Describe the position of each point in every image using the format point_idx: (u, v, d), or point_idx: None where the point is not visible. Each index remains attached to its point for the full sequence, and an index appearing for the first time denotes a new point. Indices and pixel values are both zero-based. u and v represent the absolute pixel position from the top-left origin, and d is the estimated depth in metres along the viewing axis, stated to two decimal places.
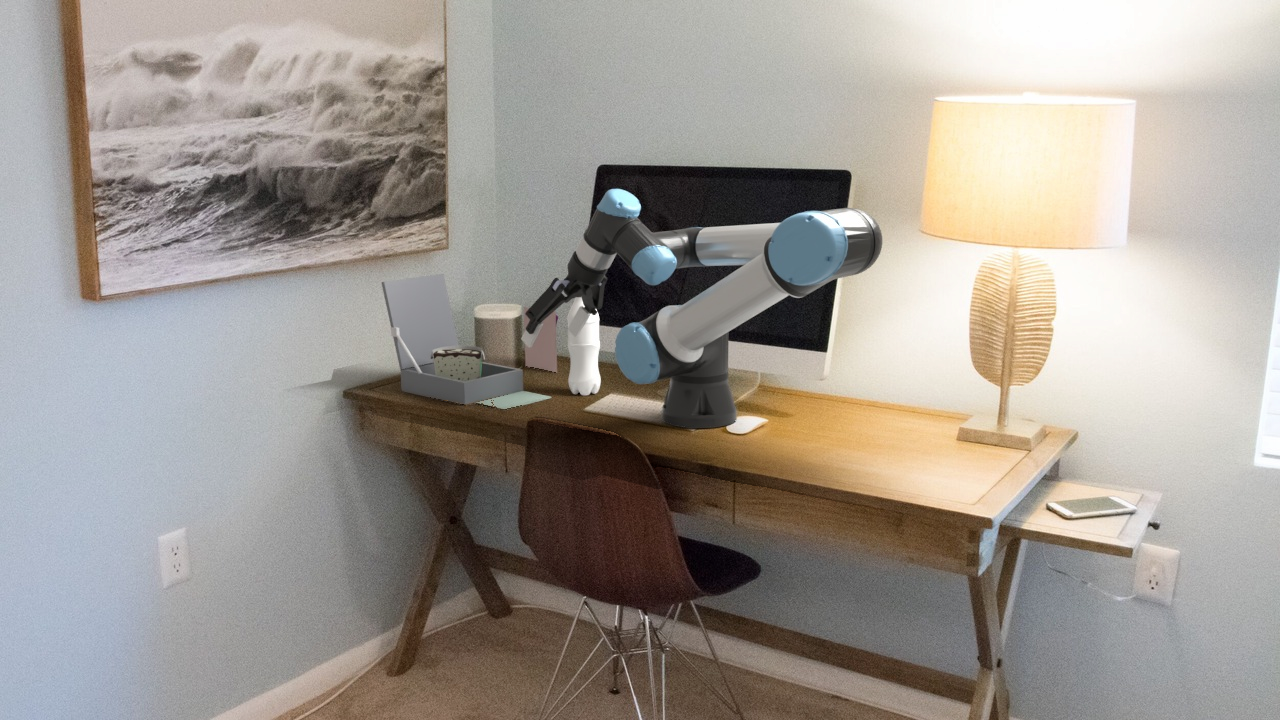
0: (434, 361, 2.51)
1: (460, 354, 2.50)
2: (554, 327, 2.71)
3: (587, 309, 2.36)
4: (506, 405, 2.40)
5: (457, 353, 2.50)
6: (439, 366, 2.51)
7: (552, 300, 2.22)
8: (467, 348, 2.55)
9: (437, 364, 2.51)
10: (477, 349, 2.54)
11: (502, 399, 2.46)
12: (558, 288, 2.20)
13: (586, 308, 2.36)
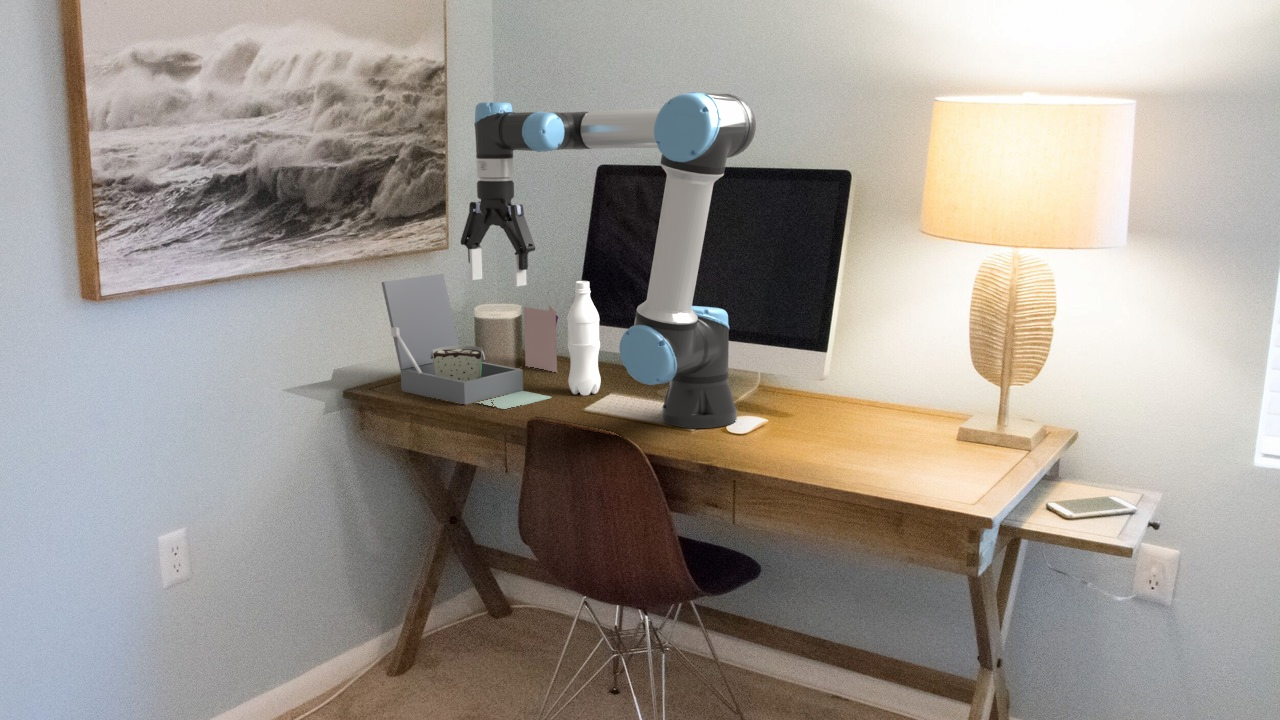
0: (434, 361, 2.51)
1: (460, 354, 2.50)
2: (554, 327, 2.71)
3: (475, 247, 2.39)
4: (506, 405, 2.40)
5: (457, 353, 2.50)
6: (439, 366, 2.51)
7: None
8: (467, 348, 2.55)
9: (437, 364, 2.51)
10: (477, 349, 2.54)
11: (502, 399, 2.46)
12: (522, 209, 2.28)
13: (473, 247, 2.38)
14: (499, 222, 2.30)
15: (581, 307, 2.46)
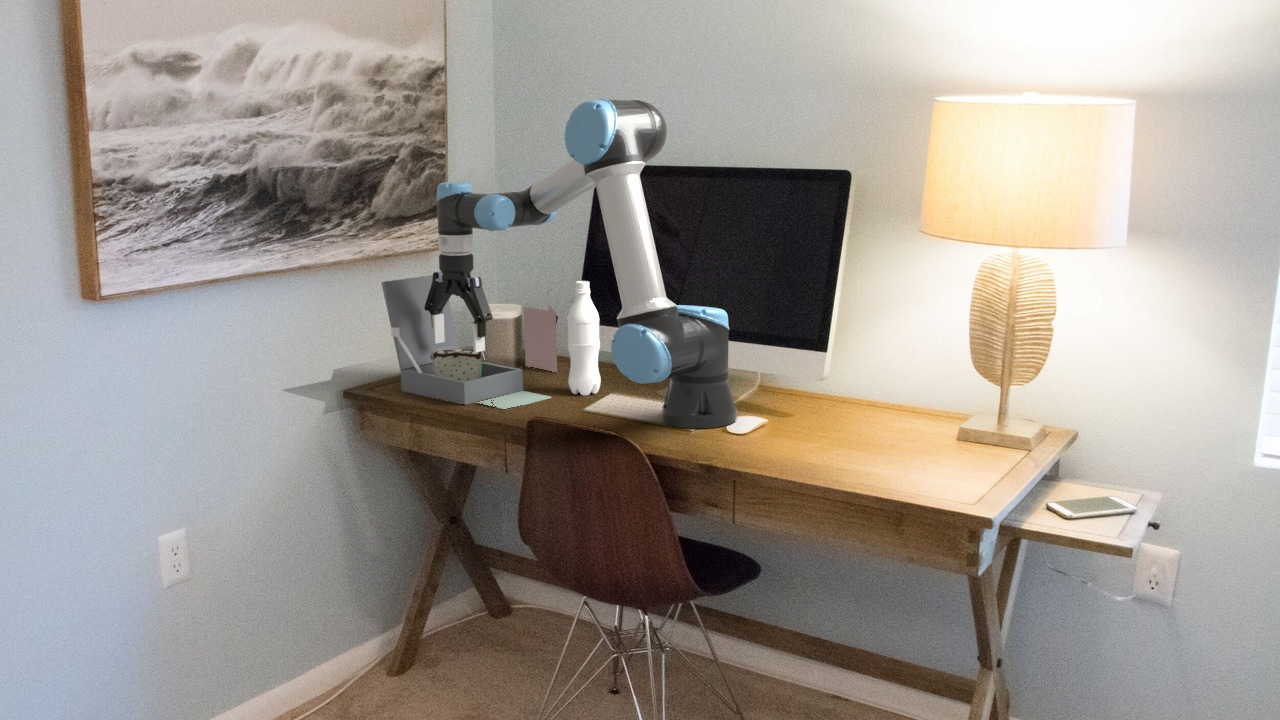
0: (434, 361, 2.51)
1: (460, 354, 2.50)
2: (554, 327, 2.71)
3: (437, 312, 2.57)
4: (506, 405, 2.40)
5: (457, 353, 2.50)
6: (438, 366, 2.51)
7: None
8: (467, 348, 2.55)
9: (437, 364, 2.51)
10: None
11: (502, 399, 2.46)
12: (480, 281, 2.46)
13: (436, 313, 2.56)
14: (459, 293, 2.48)
15: (581, 307, 2.46)
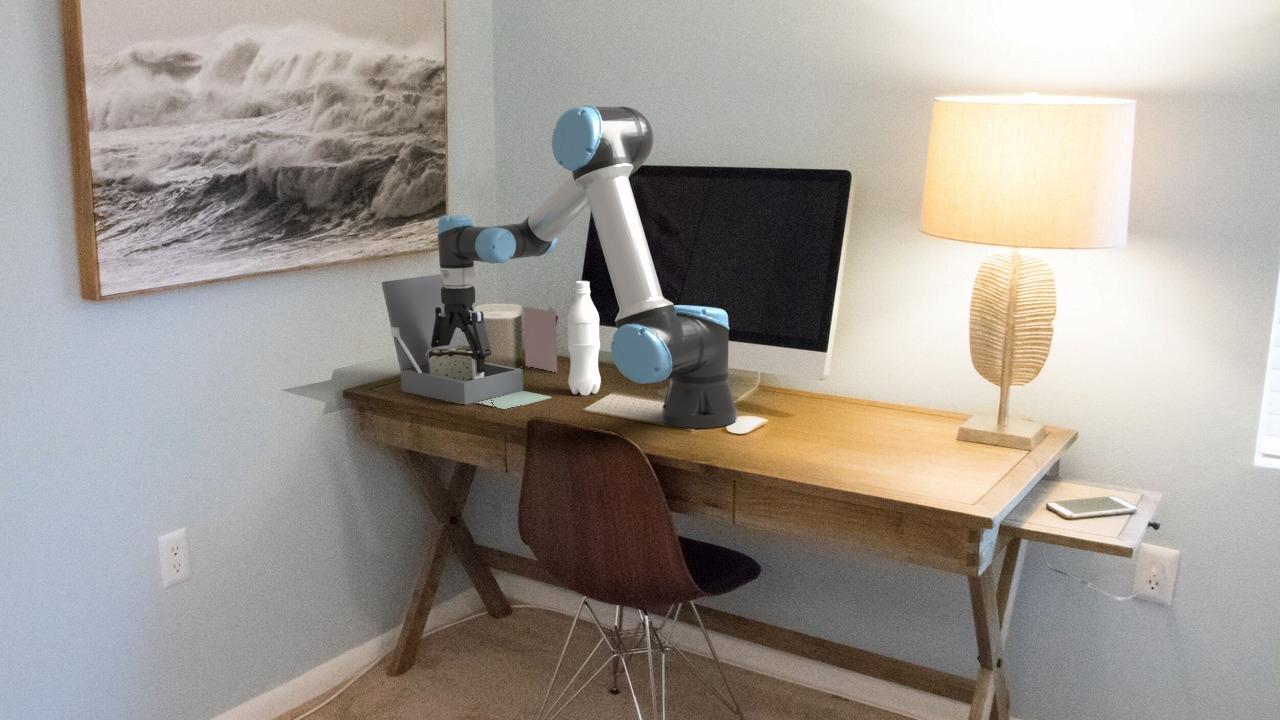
0: (429, 361, 2.52)
1: (455, 353, 2.51)
2: (554, 327, 2.71)
3: None
4: (506, 405, 2.40)
5: (452, 352, 2.51)
6: (434, 366, 2.52)
7: None
8: (462, 347, 2.56)
9: (432, 364, 2.52)
10: None
11: (502, 399, 2.46)
12: (482, 316, 2.48)
13: None
14: (460, 326, 2.49)
15: (581, 307, 2.46)
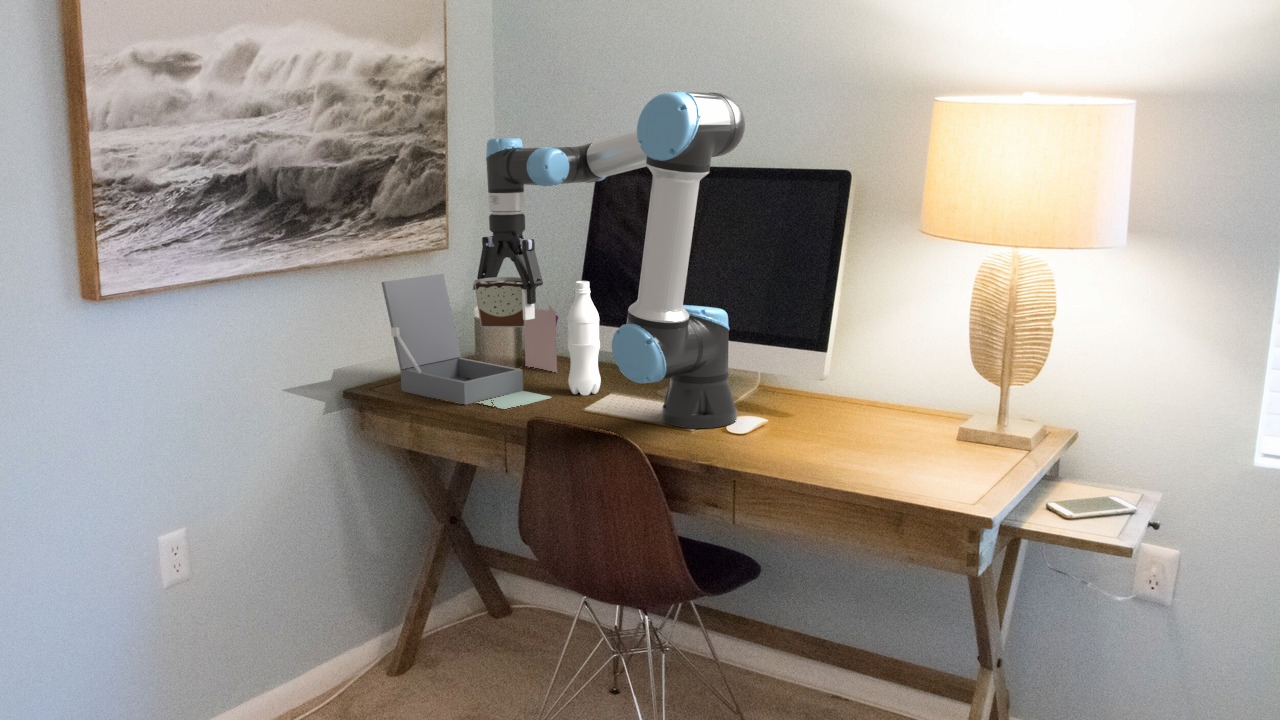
0: (477, 292, 2.39)
1: (504, 284, 2.38)
2: (554, 327, 2.71)
3: None
4: (506, 405, 2.40)
5: (501, 283, 2.38)
6: (481, 297, 2.39)
7: None
8: (510, 279, 2.43)
9: (480, 295, 2.39)
10: (521, 280, 2.42)
11: (502, 399, 2.46)
12: (533, 244, 2.35)
13: None
14: (510, 255, 2.36)
15: (581, 307, 2.46)
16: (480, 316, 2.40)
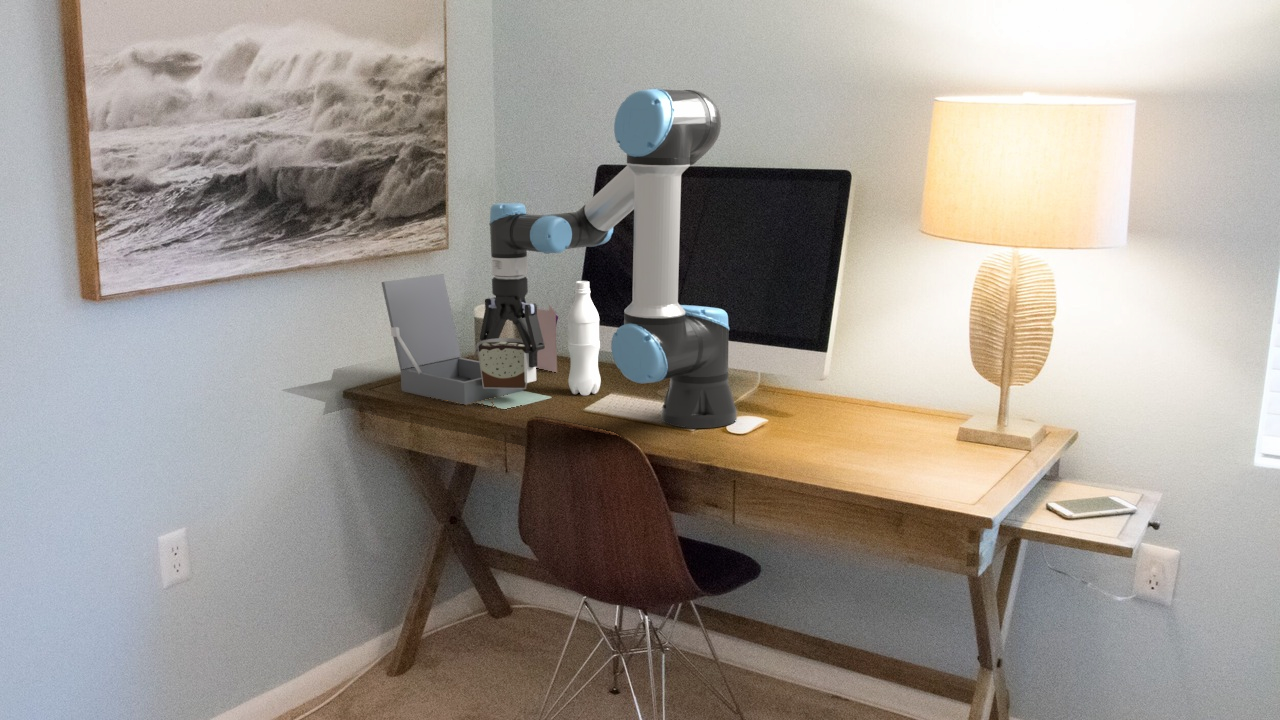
0: (479, 354, 2.41)
1: (506, 347, 2.41)
2: (554, 327, 2.71)
3: None
4: (506, 405, 2.40)
5: (503, 346, 2.41)
6: (484, 359, 2.42)
7: None
8: (512, 341, 2.46)
9: (482, 357, 2.42)
10: None
11: (502, 399, 2.46)
12: (535, 308, 2.37)
13: None
14: (512, 319, 2.39)
15: (581, 307, 2.46)
16: (482, 377, 2.42)
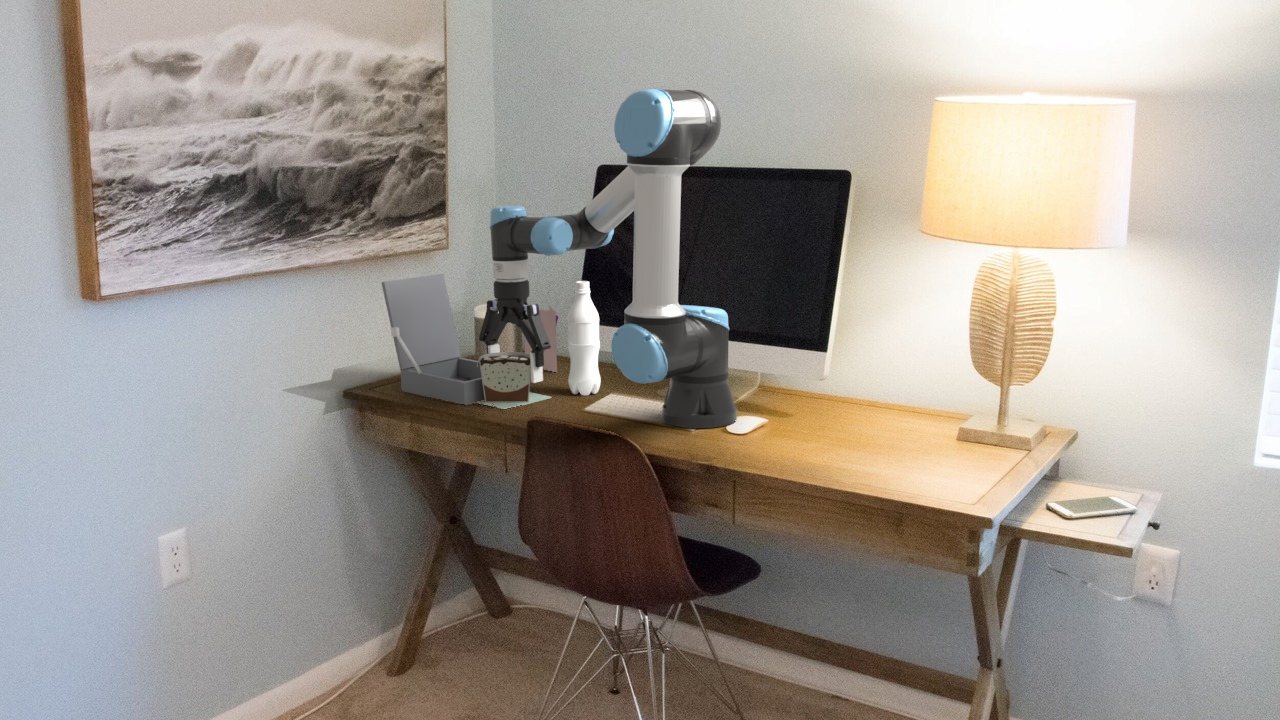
0: (481, 368, 2.41)
1: (509, 361, 2.41)
2: (554, 327, 2.71)
3: (493, 343, 2.47)
4: (506, 405, 2.40)
5: (505, 360, 2.41)
6: (486, 374, 2.42)
7: None
8: (513, 354, 2.46)
9: (484, 371, 2.42)
10: (524, 355, 2.45)
11: None
12: (537, 308, 2.37)
13: (492, 343, 2.47)
14: (516, 321, 2.38)
15: (581, 307, 2.46)
16: (484, 392, 2.42)
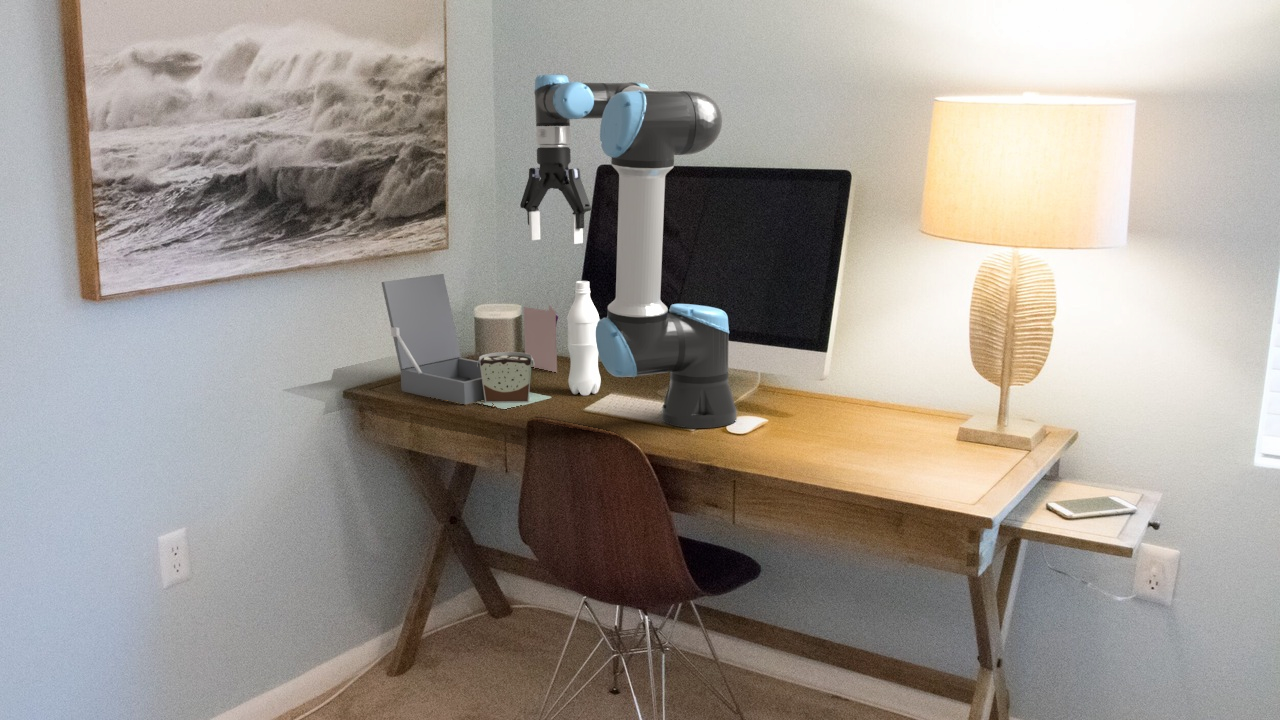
0: (481, 368, 2.41)
1: (509, 361, 2.41)
2: (554, 327, 2.71)
3: (533, 209, 2.59)
4: (506, 405, 2.40)
5: (505, 360, 2.41)
6: (486, 374, 2.42)
7: None
8: (513, 354, 2.46)
9: (484, 371, 2.42)
10: (524, 355, 2.45)
11: None
12: (578, 172, 2.49)
13: (532, 210, 2.59)
14: (557, 185, 2.50)
15: (581, 307, 2.46)
16: (484, 392, 2.42)
